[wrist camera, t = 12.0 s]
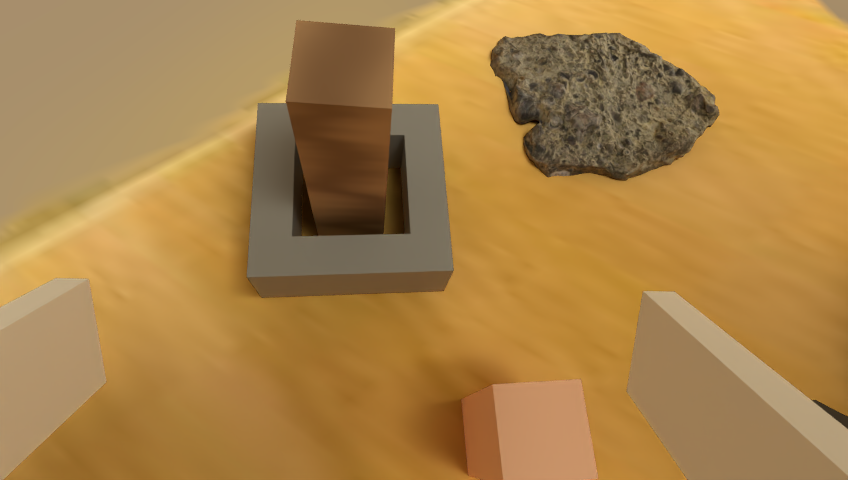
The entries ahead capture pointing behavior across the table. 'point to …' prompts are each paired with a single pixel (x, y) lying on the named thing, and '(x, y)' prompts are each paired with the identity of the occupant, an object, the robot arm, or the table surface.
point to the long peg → (343, 122)
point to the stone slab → (600, 103)
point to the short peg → (529, 432)
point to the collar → (349, 254)
